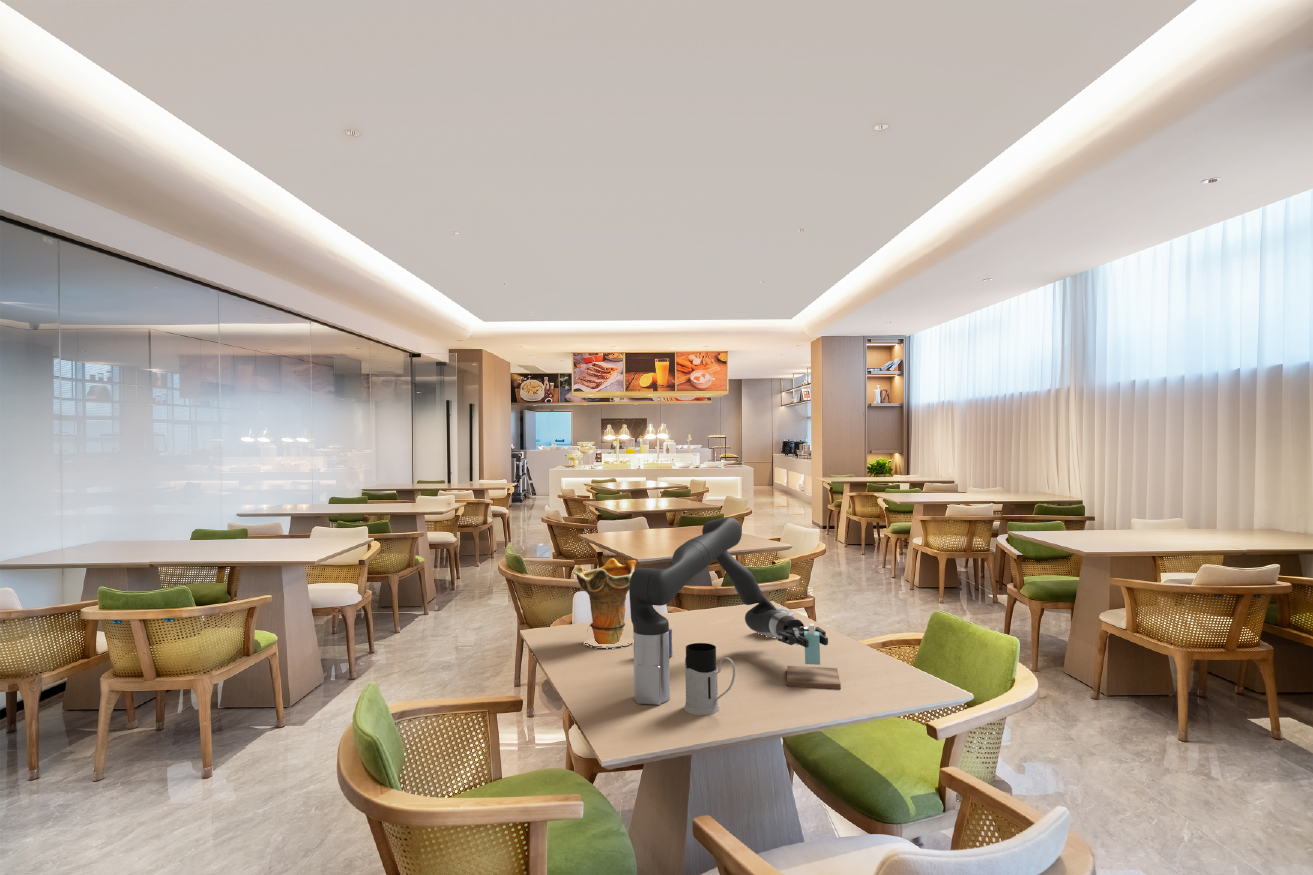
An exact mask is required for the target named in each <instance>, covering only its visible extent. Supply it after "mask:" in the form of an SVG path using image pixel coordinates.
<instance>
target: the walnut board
mask: <svg viewBox="0 0 1313 875" xmlns="http://www.w3.org/2000/svg"><path fill="white" fill-rule="evenodd" d="M786 671H787V672H786V673H787V674H786V686H787V687H797V688H799V687H801V688H816V689H817V688H818V689H819V688H820V689H832V690H833V689H834V690H835V689H837V690H838V689H839V690H841V687H842V686H841V679H840V676H839V675H840V674H839V670H838V668H837V667H826V666H825V667H824V666H821V667H819V666H805V665H804V666H803V665H800V666H799V665H787V670H786Z"/></svg>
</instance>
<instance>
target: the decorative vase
mask: <svg viewBox="0 0 1313 875" xmlns="http://www.w3.org/2000/svg"><path fill="white" fill-rule="evenodd" d="M636 565H637V560H633V559H630V560H626V561H625V564H621V563H619V562H618V560H617V559H615V558H613V557H612V558H609V559H608V560H607V561H606V562H605V564H604V565H603V566H601V567H599V568H592V569H587V570H584V567H583V566H576V567H575V568H574V570H573V574H574V575H575V576H576V579H577V581H578V584H579V586H580V587H581V589H583V591H585V593H586V594H587V595H588V596H589V597H588V598H589V604H590V613H591V619H592V622H591V623H590V624H589V626H588V628H589V627H591V629H592V633H593V636H594V639H595V641H596V642H597V643H598V644H615V643H617V642H619V641H620V638H621V636H622V634H623V632H624V630H625V629H624V627H625V626H626V623H625V617H626V600H627V594H628V593H629V584H630V578H631V575H632V573H633V572H634V571H635V570H636ZM588 630H589V629H587V631H586V632H588ZM585 644H588V643H585ZM626 644H629V643H626ZM588 645H589V646H592V647H602V646H593V645H590V644H588ZM623 645H625V644H623ZM623 645H620V646H613V647H621V646H623ZM592 647H591V648H592ZM606 647H612V646H606ZM621 648H622V647H621Z"/></svg>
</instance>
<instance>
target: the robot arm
mask: <svg viewBox="0 0 1313 875" xmlns="http://www.w3.org/2000/svg"><path fill="white" fill-rule="evenodd" d="M701 532H702V534H701V535H698V536H695V537H693V538H691V539H690V538H689V539H688V540H686V541H685V542H684V543H683V544H681V545H680V546H678V547H677V548H676V549H675V551H674V552H673V554H672V559H671V560H672V562H671V564H672V565H671V566H669V567H667V568H652V567H651V568H650V567H639V568H635V571H634V572H633V573H632V575H631V578H630V584H629V591H628V593H629V596H628V597H629V608H630V619H631V620H630V621H631V623H632V630H633V633H632V634H633V636H632V637H633V638H632V639H633V640H634V644H633V690H634V691H633V694H634V695H633V697H634V700H635V701H636V704H639V705H641V704H644V705H658V706H659V705H661V704H664V703H667V702H668V701H669V700H670V698H671V688H670V687H671V684H670V682H671V681H670V678H671V677H670V658H669V628H670V624H669V620H668V619H667V617H665V616H663V614H660V613H659V612H658V611H657V610H656V609H655V608H654V606H657V607H660V606H665V605H668V604H669V603H670V602H671V601H672V600H673V599H674V598H675V597H676V596H677V594H679V593H680V592H681V590H682V589H683V588H684V587H685V585H687V584H688V583H689V582H691V580H692V579H693V578H695V577H696V576H697V575H699V574H700V573H701V572H702V571H704V570H705V569H706V568H707V567H708V566H709V565H710V564H711V563H713V562H714V561H715V560H716V561H717V563H718V564H719V566H721V568H722V570H724V571H723V572H725V573H726V575H727V576H728V577H729V579H730V581H731V583H732V584H733V587H734V589H735V590H736V593H737V595H738V597H739V599H740V601H741V602H742V604H744V605H746V606H751V605H753V607H752V608H750V609H749V610H748V611H747V612H745V615H744V621H745V624H746V625H747V627H749V629H750V630H752V631H754V632H756V633H757V632H762V633H769V632H770V633H771V634H773V635H775V636H776V637H777V638H776V639H777V641H778V642H781V643H784V644H785V645H786V644H787V645H789V646H793V645H796V646H801V647H803V648H804V649H805V648H808V647H809V642H808V639H806V638H805V637H804V631H809V627H807V626H805V624H804V623H803V622H802V621H801V619H798V618H797V617H794V616H793V617H792V616H790V615H787V614H783V613H781V612H778V611H777V610H776V609H777V607H775V605H774V604H773V603H772V602H771V601H770V600H769V599H768V598H767V597H766V595H765V594H764V592H763V591H762V589H761V588H760V587H759V584H758V582H757V580H756V578H755V576H754V574H753V573H752V572H751V571H750V570H749V569H748V568H747V567H746V566H745V565H743V564H742V563H741V562H739V561H738V560H737V559H736V558H735V557H734V556H733V555H732V554H731V553H730V552H729V550H730V549H732V548H734V547H735V546H737V545H738V544H740V541H741V539H742V535H743V534H742V533H743V531H742V526H741V524H740V522H739V521H738V520H737V519H736V518H734V517H730V516H729V517H727V516H726V517H721V518H717V519H713V520H709V521H706V522H705V523H704V524H703V526H702V530H701ZM754 604H756V605H755V606H754ZM814 631H815V632H819V638H820V644H821V645H822V646H828V645H829V638H828V637H827V636H826V634H827V633H826V631H825V630H823V629H822V628H820V627H819V626H816V627H815V626H814Z"/></svg>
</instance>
